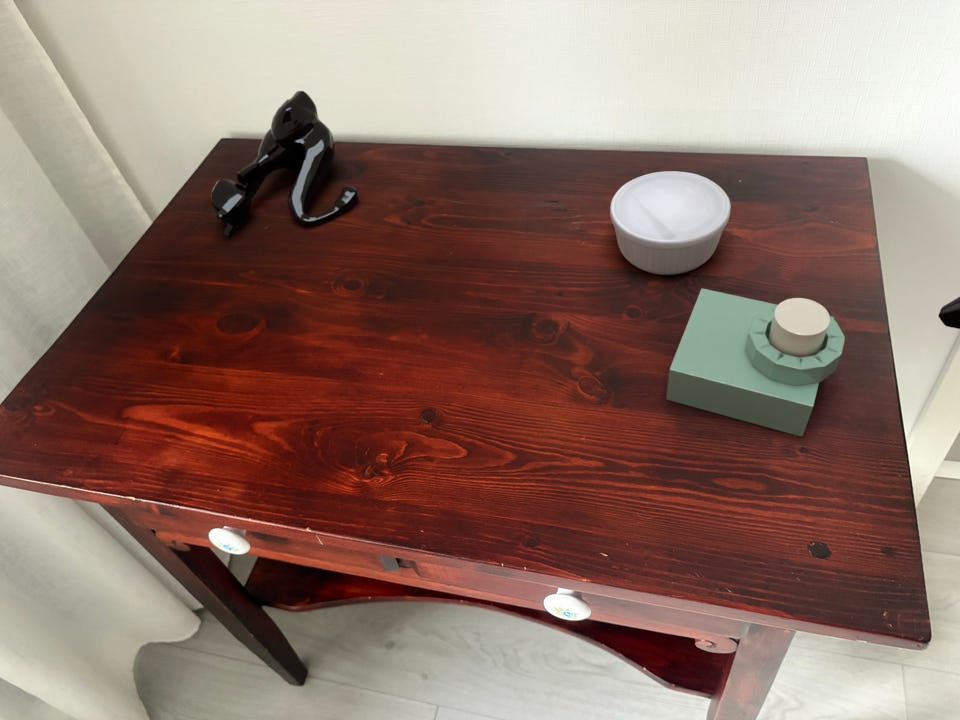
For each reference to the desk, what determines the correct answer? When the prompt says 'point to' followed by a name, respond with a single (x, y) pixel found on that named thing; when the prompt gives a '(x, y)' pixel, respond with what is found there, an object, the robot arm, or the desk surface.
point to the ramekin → (669, 221)
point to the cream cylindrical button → (799, 327)
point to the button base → (747, 365)
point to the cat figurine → (285, 166)
